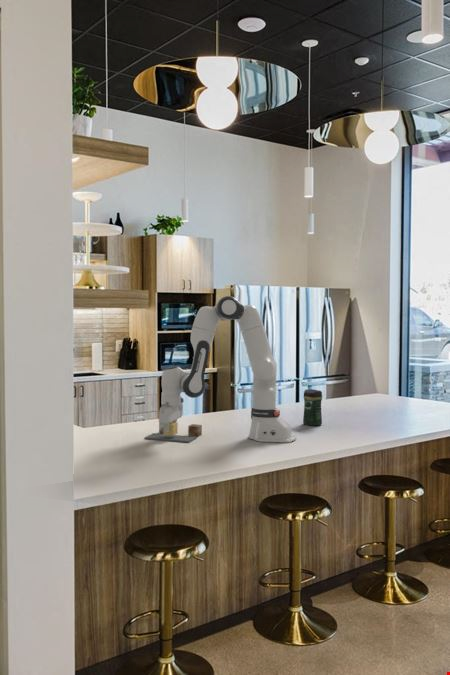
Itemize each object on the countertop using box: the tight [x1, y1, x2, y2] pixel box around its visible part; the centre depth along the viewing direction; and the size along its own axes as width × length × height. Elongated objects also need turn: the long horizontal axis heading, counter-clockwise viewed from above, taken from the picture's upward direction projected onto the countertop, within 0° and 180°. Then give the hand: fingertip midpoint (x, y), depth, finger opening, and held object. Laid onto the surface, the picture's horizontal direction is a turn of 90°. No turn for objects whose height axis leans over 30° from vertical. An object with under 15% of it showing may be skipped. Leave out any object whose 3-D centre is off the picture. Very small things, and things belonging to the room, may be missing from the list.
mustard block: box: [163, 422, 179, 435], centre depth 302 cm, size 5×5×5 cm
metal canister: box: [158, 422, 163, 434], centre depth 314 cm, size 5×5×6 cm
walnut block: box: [187, 423, 203, 438], centre depth 310 cm, size 5×5×5 cm
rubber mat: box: [144, 432, 198, 444], centre depth 302 cm, size 22×10×1 cm, turn 72°
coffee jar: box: [302, 389, 323, 427], centre depth 340 cm, size 10×8×19 cm
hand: (170, 430), depth 302 cm, fingers closed on mustard block, 5 cm apart
